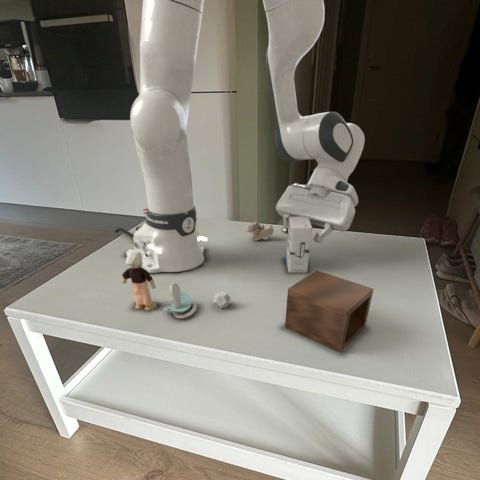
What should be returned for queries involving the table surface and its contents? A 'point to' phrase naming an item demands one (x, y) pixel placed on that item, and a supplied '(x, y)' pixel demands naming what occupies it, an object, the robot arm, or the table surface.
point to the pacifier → (180, 302)
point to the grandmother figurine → (139, 281)
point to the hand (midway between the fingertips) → (300, 237)
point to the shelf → (328, 309)
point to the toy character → (260, 230)
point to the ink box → (298, 244)
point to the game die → (221, 299)
